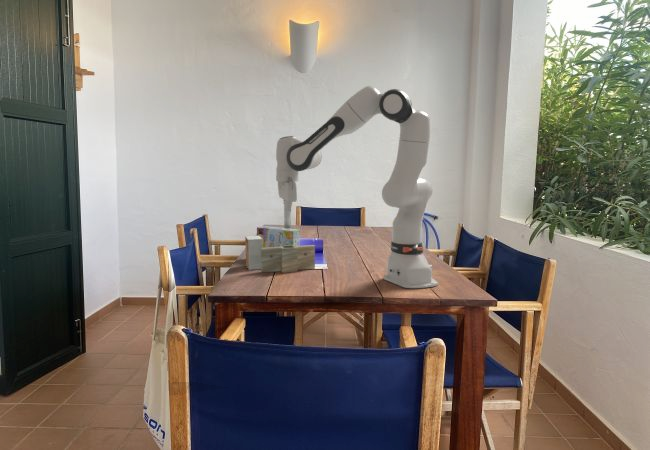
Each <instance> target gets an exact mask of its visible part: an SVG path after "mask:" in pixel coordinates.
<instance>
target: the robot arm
mask: <svg viewBox="0 0 650 450" xmlns="http://www.w3.org/2000/svg"><path fill="white" fill-rule="evenodd" d="M379 114H380V115H383V117H384V118H386V119H388V120H390V121H392V122H396V123H398V125H399V129H400V130H399V131H400V133H399V138H398V139H399V140H398V148H397V155H396V160H395V164H394V167H393V170H392V172H391V175H390V177H389V179H388V180H387V182H386V183H385V184H384V185H383V187H382V190H381V197H382V200H383V202H384V203H385V204H386V205H387V206H389V207H391V208H397V209H398V212H397V214H396V215H395V217H394V219H393V221H392V234H391V237H392V238H391V239H392V241H391V242H390V251H391V253H390V255H388V257H387V262H386V271H385V272H386V273H385V274H384V275H383V276H382V279H383V280H385V281H388V282H390V283H392V284H395V285H396V286H399V287H402V288H404V289H424V288H431V287H437V286H438V285H439V282H438V281H437V280H436V279H434V278H433V277H432V275H433V274H432V271H433V265H432V264H429V262H428V260H427V258H426V256H425V255H424V246H423V242H422V228H423V225H422V224H423V220H424V215H425V212H426V208H427V204H428V202H429V200H430V198H431V197H432V195H433V187H432V184H431V183H430V181H428V179H424V178H423V177H420V175H421V173H422V170H423V168H424V167H425V166H426V165H427V161H428V154H429V145H430V138H431V137H430V136H431V135H430V134H431V123H430V116H429V115H428V113H426V112H425V111H422V110H417V109H414V108H413V105H412V100H411V98H410V96H409V95H408V94H407V93H406V91H404V90H401V89H397V88H393V89H392V88H391V89H388V90H387V91H385V92H384V93H381V92H380V91H379V89H377V88H376V87H374V86H370V85H368V86H367V85H366V86H365V87H363V88H361V89H360V90H358V91H357V92H356V93H354V94H353V95H352V96H351V97H349V99H347V100H346V101H344V103H343V104H342V105H341V106H340V107H339V108H338V109H337V110H336V111H335V113H334V114H333V115H331V117H330V118H328V120H327V121H326V122H325V123H324V124H322V125H321V126H320V127H319V128H318V129H317V130H316V131H315V132H313V133H312V134H311V135H310V136H309V137H307V139H305V140H303V141H302V140H301V139H299V138H298V137H297V136H295V135H289V136H283V137H280V138H279V139H278V140H277V143H276V152H275V156H276V157H275V158H276V163H277V166H276V169H275V170H276V172H275V173H276V176H275V179H276V182H277V188H278V189H277V190H278V196H279V198H280V199H282V202H283V203H284V200H286V203H287V207H286V211H287V212H291V213H292V206H293V203H295V202H297V198H298V194H297V193H298V192H297V184H296V182H298V181H299V172H303V171H305V170H312V169H314V168H317V167H318V166H320V165H321V162H322V158H323V155H322V152H321V150H323V148H324V147H326V145H328V144H330V143H331V142H332V141H333V140H334V139H337V138H338V137H342V136H347V135H350V134H352V133H355V132H356V131H358V130H360V128H362V127H363V126H364V125H366V124H367V123H368V122H369V121H370V120H371V119H372V118H373V117H375V116H377V115H379Z"/></svg>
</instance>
